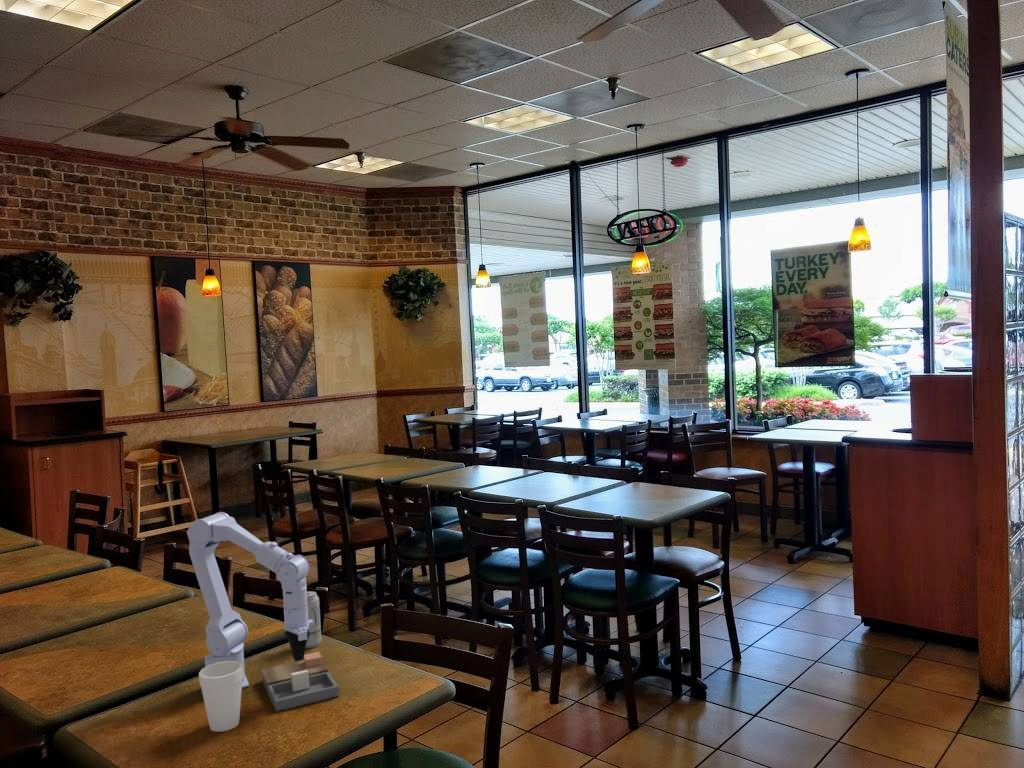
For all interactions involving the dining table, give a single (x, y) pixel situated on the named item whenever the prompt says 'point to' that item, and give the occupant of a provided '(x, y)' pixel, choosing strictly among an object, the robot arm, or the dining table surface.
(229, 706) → the foam cup
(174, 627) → the dining table surface
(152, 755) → the dining table surface
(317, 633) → the energy drink can
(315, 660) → the tile
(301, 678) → the tile
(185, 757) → the dining table surface
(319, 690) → the box
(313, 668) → the board
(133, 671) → the dining table surface
